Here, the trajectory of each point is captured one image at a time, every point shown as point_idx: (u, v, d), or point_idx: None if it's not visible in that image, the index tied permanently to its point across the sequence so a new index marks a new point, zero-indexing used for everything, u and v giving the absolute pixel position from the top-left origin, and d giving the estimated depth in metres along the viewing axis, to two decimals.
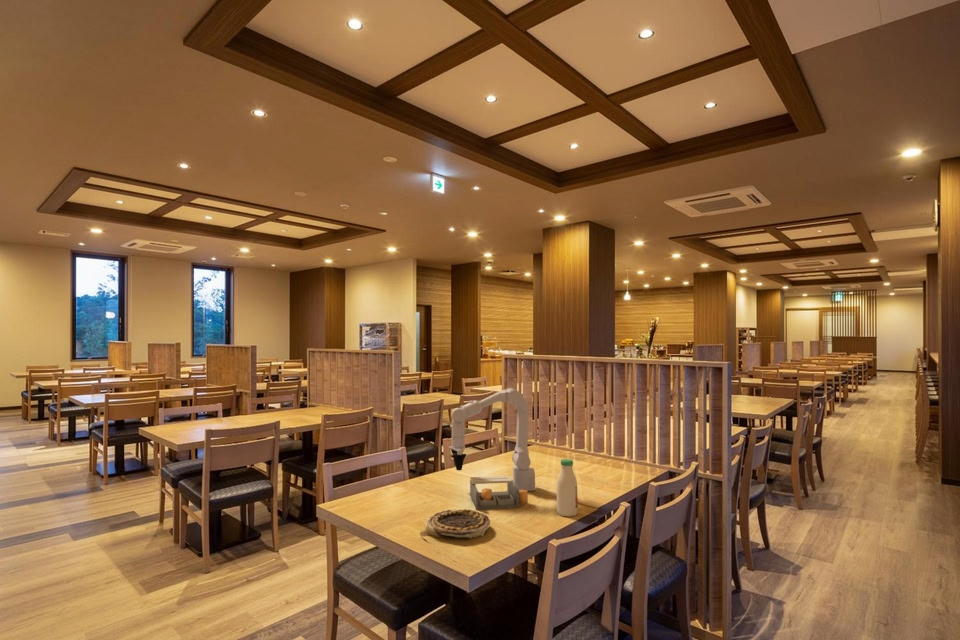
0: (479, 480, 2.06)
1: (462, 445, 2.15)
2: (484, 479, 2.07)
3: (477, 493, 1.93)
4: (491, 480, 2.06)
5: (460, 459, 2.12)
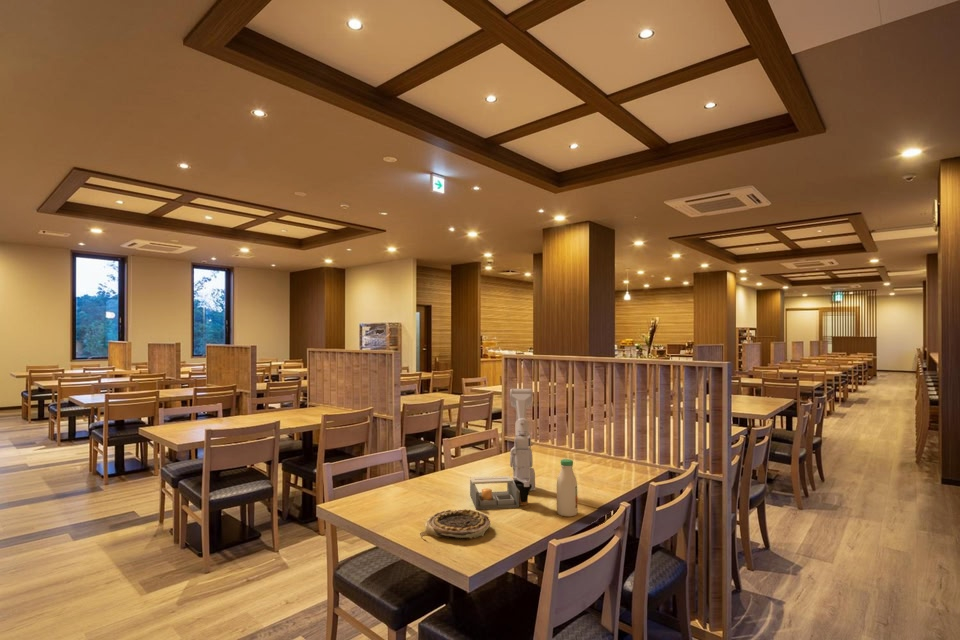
0: (479, 480, 2.06)
1: (527, 476, 1.99)
2: (484, 479, 2.07)
3: (477, 493, 1.93)
4: (491, 480, 2.06)
5: (525, 490, 1.98)
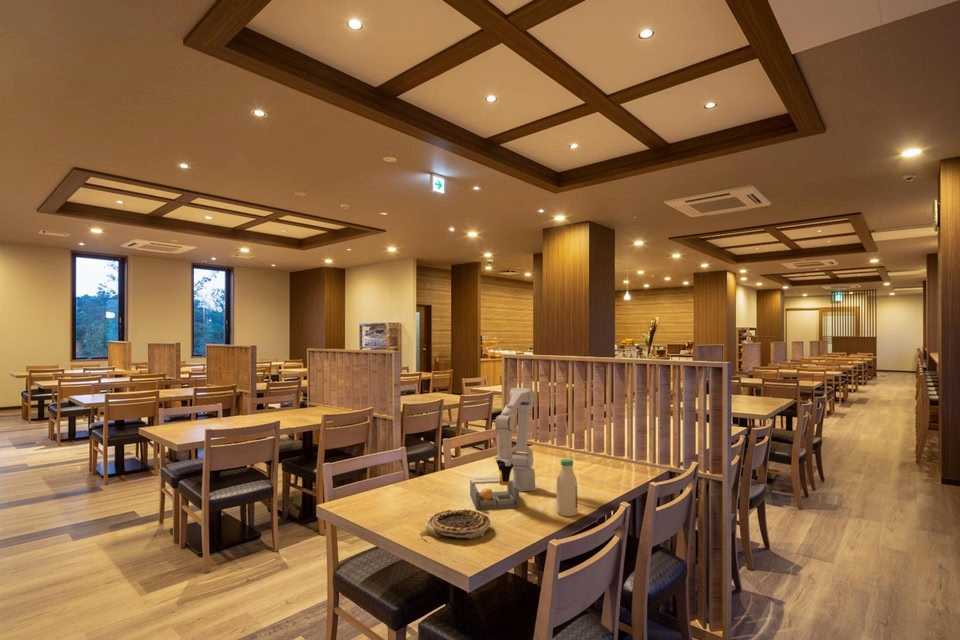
0: (479, 480, 2.06)
1: (509, 455, 1.98)
2: (484, 479, 2.07)
3: (477, 493, 1.93)
4: (491, 480, 2.06)
5: (507, 470, 1.97)
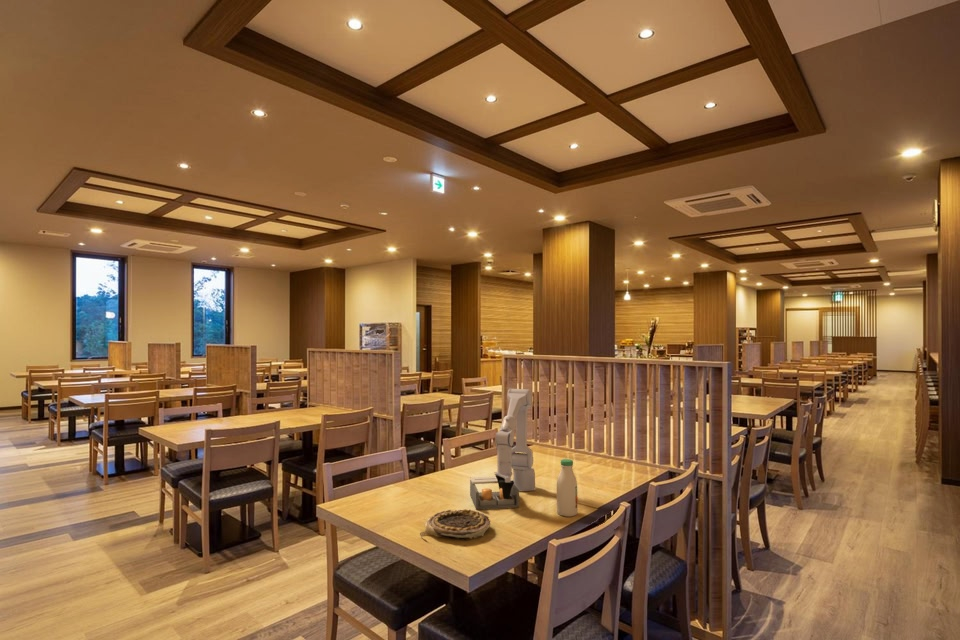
0: (479, 480, 2.06)
1: (509, 471, 1.98)
2: (484, 479, 2.07)
3: (477, 493, 1.93)
4: (491, 480, 2.06)
5: (507, 487, 1.96)
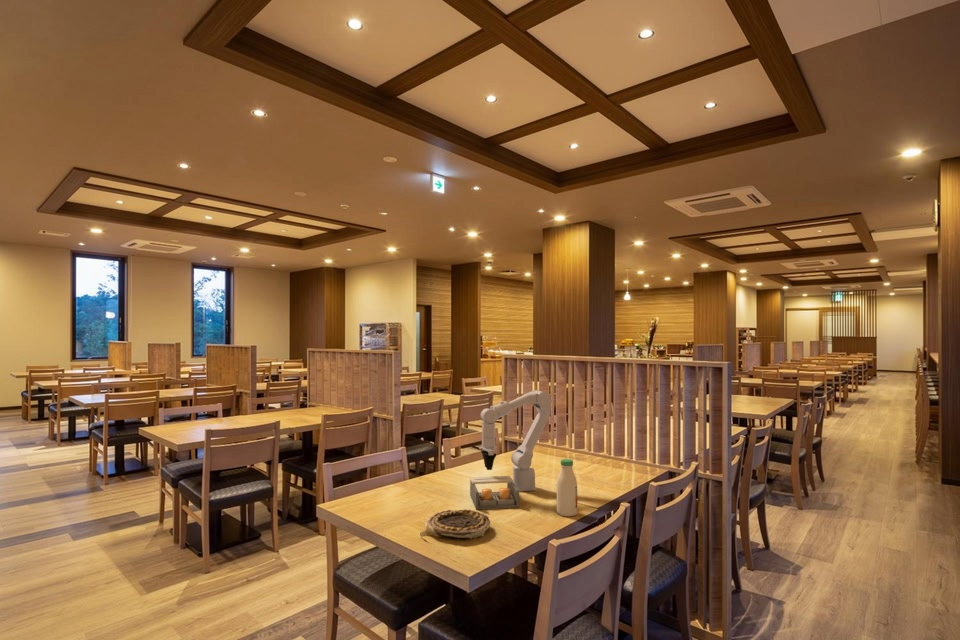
0: (479, 480, 2.06)
1: (493, 446, 2.15)
2: (484, 479, 2.07)
3: (477, 493, 1.93)
4: (491, 480, 2.06)
5: (490, 459, 2.14)
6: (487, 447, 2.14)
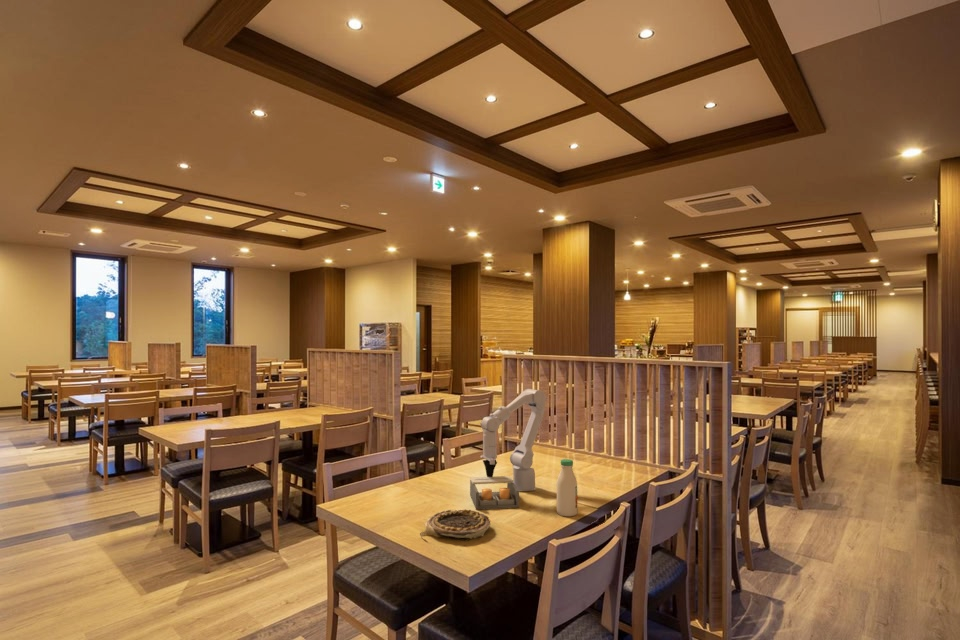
0: (479, 480, 2.06)
1: (494, 454, 2.11)
2: (485, 480, 2.07)
3: (477, 493, 1.93)
4: (491, 480, 2.06)
5: (491, 467, 2.12)
6: (488, 456, 2.10)
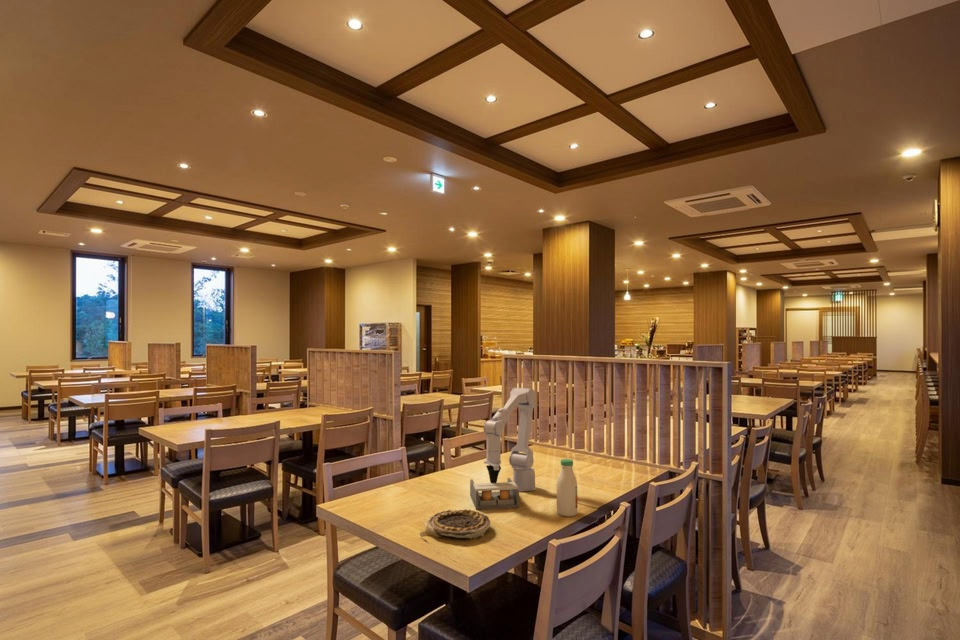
0: (482, 487, 1.97)
1: (498, 460, 2.02)
2: (488, 486, 1.98)
3: (477, 493, 1.93)
4: (495, 487, 1.97)
5: (495, 472, 2.03)
6: (492, 461, 2.01)
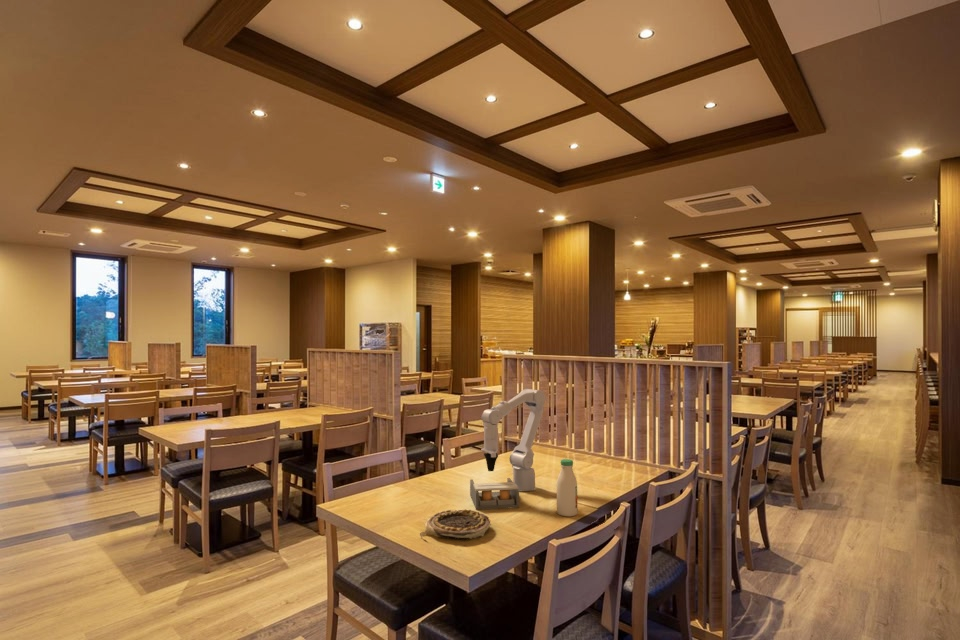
0: (482, 487, 1.97)
1: (495, 447, 2.09)
2: (488, 486, 1.98)
3: (477, 493, 1.93)
4: (495, 487, 1.97)
5: (492, 460, 2.10)
6: (489, 449, 2.08)
